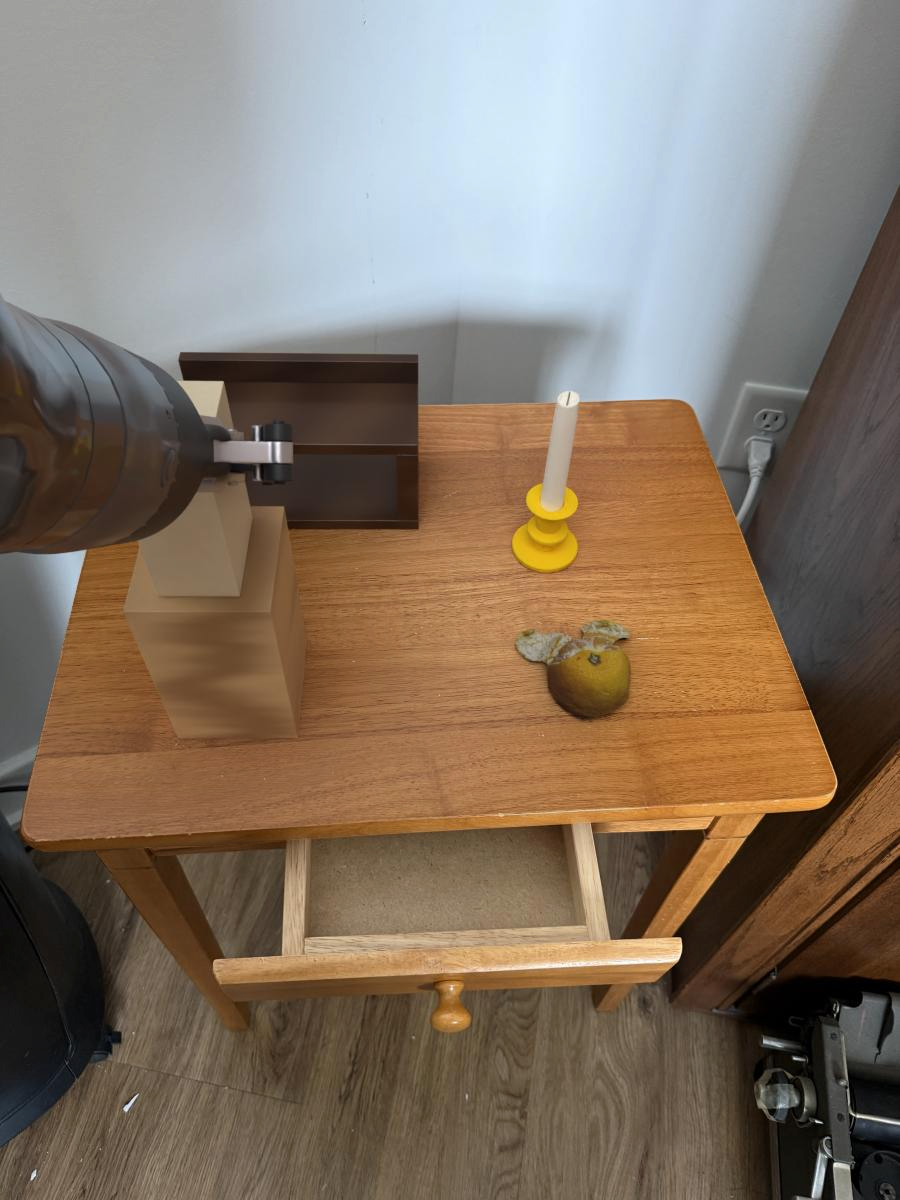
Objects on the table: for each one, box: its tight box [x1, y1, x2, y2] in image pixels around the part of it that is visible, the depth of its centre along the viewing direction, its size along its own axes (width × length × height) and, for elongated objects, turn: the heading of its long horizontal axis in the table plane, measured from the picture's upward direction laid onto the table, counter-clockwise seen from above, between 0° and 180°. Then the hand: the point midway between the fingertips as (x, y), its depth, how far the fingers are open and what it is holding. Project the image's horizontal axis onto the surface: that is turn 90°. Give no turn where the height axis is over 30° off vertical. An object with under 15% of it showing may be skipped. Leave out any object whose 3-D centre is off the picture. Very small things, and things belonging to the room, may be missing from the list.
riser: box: [122, 506, 308, 740], centre depth 56 cm, size 8×8×14 cm
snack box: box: [137, 380, 253, 597], centre depth 47 cm, size 4×6×10 cm
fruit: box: [514, 619, 632, 720], centre depth 62 cm, size 8×8×4 cm
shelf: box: [177, 351, 420, 530], centre depth 69 cm, size 18×8×11 cm, turn 91°
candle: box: [511, 390, 581, 574], centre depth 64 cm, size 5×5×16 cm
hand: (192, 460), depth 48 cm, fingers closed on snack box, 4 cm apart
